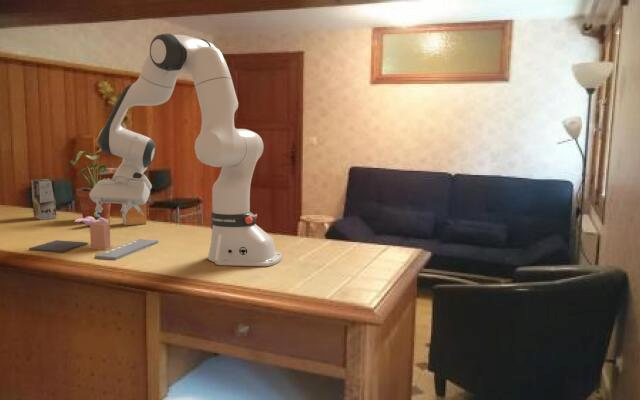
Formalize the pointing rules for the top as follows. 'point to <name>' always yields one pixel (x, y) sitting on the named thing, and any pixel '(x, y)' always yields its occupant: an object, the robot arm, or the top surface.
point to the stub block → (100, 235)
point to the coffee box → (44, 199)
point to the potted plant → (83, 192)
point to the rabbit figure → (92, 219)
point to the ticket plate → (126, 249)
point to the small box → (135, 215)
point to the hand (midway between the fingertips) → (110, 212)
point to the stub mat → (58, 246)
